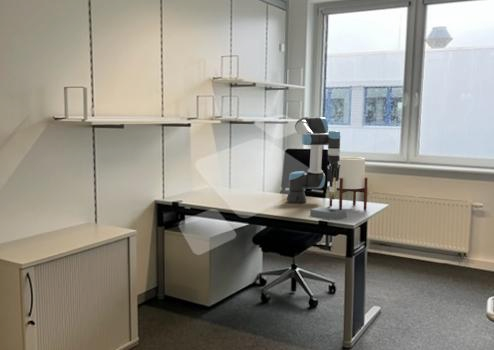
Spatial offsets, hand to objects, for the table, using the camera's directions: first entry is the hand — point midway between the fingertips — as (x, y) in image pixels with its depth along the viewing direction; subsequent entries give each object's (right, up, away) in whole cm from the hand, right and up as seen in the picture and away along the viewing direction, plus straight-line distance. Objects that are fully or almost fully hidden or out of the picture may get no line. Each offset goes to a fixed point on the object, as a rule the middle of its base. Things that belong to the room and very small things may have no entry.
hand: (332, 191), depth 314 cm
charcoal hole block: (-2, -16, +4) cm, 17 cm away
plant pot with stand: (+16, -13, +34) cm, 40 cm away
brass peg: (0, -5, +1) cm, 5 cm away
